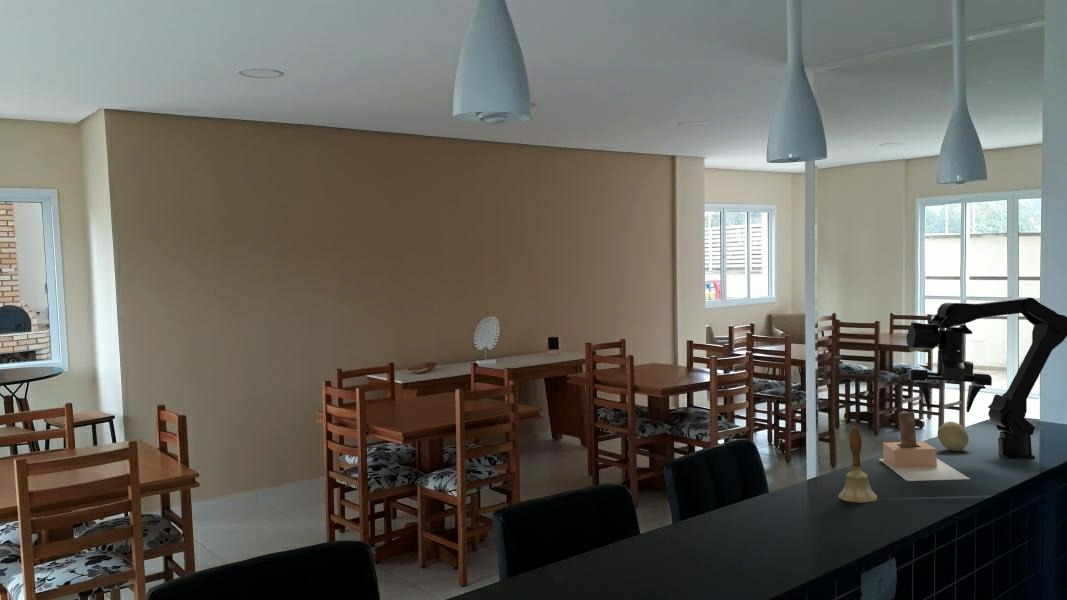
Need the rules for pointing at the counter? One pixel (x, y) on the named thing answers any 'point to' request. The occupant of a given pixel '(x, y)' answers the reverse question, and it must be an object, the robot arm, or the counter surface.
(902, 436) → the walnut peg
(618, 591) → the counter surface
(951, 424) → the potato
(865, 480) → the hand bell
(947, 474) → the collar plate
